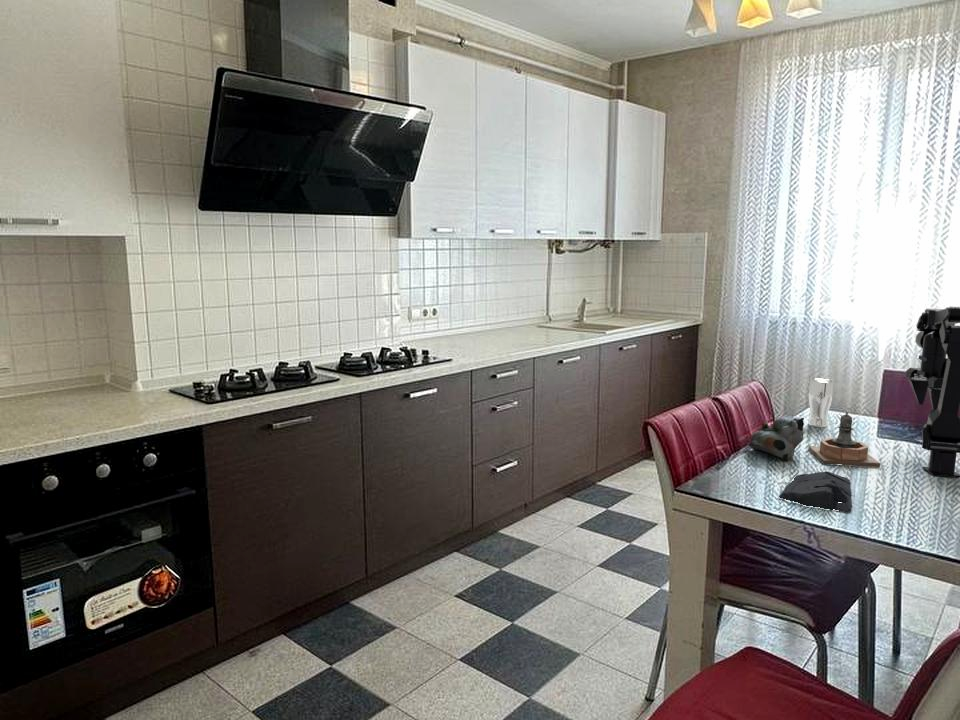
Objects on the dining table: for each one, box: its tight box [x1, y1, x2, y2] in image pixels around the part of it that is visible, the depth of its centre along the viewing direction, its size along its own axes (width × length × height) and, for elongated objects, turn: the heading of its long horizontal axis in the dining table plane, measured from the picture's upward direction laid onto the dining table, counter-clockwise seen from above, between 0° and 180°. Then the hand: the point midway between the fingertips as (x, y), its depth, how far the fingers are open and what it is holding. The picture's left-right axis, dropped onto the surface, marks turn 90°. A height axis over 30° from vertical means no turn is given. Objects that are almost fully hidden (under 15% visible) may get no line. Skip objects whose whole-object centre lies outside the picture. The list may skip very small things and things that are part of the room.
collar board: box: [808, 437, 881, 468], centre depth 194 cm, size 14×14×4 cm
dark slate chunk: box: [778, 471, 853, 513], centre depth 165 cm, size 15×22×5 cm
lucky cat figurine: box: [746, 415, 806, 462], centre depth 196 cm, size 15×12×14 cm
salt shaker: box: [832, 411, 856, 448], centre depth 193 cm, size 6×6×12 cm
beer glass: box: [807, 378, 834, 428], centre depth 229 cm, size 7×7×15 cm
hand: (927, 408), depth 199 cm, fingers open, 9 cm apart
